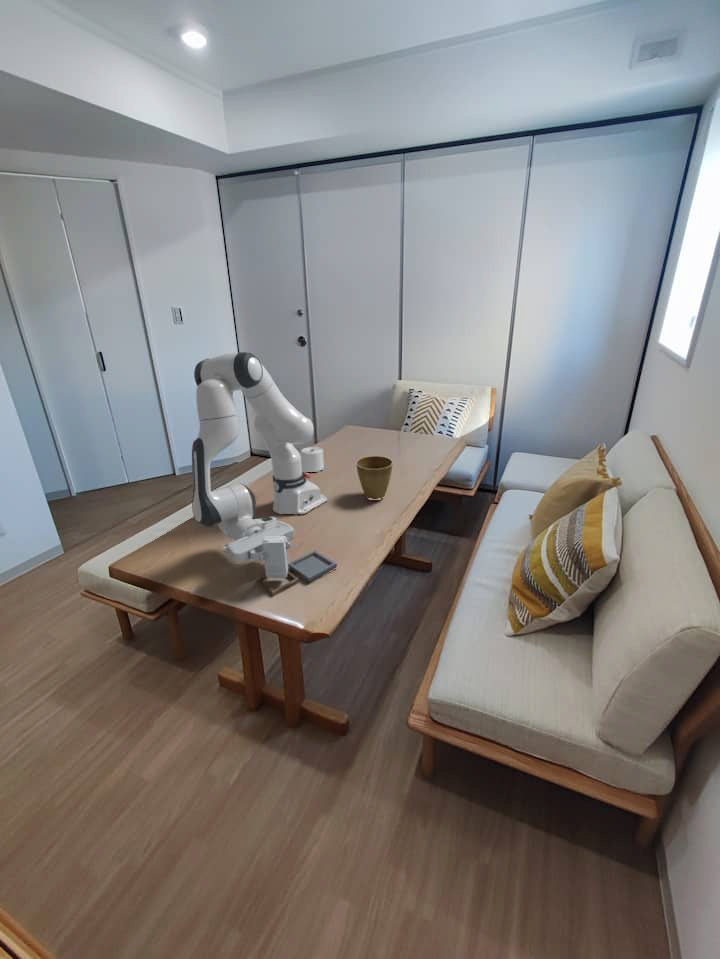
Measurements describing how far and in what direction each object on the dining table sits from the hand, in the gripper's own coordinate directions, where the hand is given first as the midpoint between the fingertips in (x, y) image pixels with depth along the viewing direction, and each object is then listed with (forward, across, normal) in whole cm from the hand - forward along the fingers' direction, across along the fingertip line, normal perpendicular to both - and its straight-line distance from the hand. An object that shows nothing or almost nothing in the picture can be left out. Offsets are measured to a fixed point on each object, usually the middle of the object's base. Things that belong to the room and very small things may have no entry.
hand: (276, 552), depth 121 cm
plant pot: (-21, +62, +12) cm, 66 cm away
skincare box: (-1, 0, +8) cm, 8 cm away
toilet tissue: (-65, +64, +12) cm, 92 cm away
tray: (+1, +11, +11) cm, 15 cm away
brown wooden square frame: (-1, 0, +11) cm, 11 cm away
